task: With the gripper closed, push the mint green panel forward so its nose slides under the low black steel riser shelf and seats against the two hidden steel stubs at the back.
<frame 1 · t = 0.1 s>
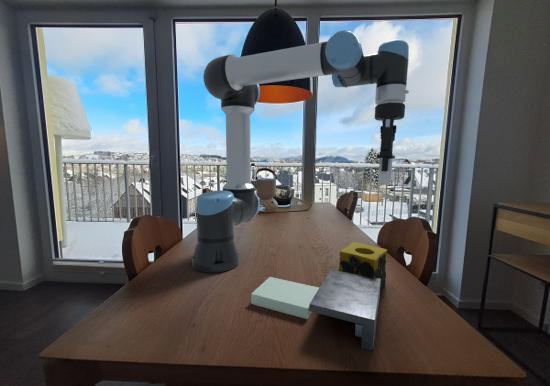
hand: (385, 182, 74), 28 cm above the table, fingers open, 13 cm apart
mint green panel: (286, 302, 64), on the table
riser: (333, 312, 59), on the table
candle: (361, 285, 72), on the table
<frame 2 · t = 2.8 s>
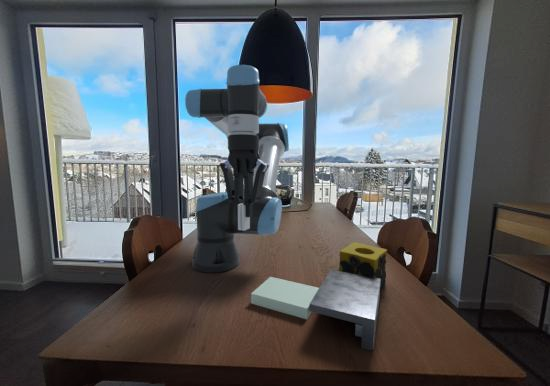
hand: (244, 228, 66), 16 cm above the table, fingers closed
nothing on the table moved.
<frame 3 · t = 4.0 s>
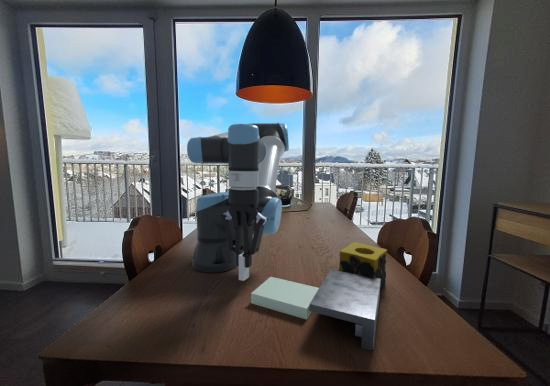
hand: (244, 278, 68), 3 cm above the table, fingers closed
nothing on the table moved.
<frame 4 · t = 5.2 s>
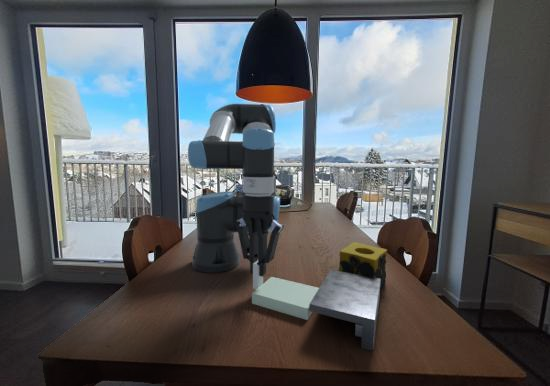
hand: (258, 287, 66), 2 cm above the table, fingers closed
mint green panel: (287, 302, 63), on the table, touching gripper
everything else where it was.
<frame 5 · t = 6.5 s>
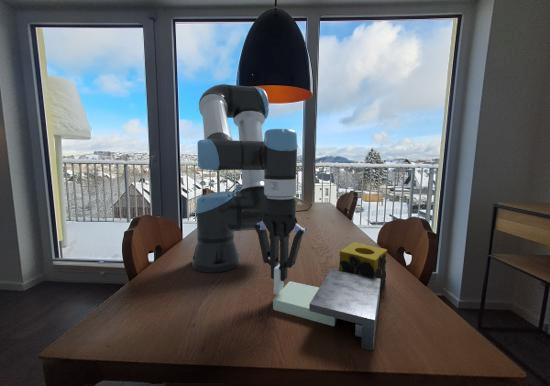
hand: (278, 291, 64), 2 cm above the table, fingers closed
mint green panel: (309, 308, 61), on the table
everything else where it was.
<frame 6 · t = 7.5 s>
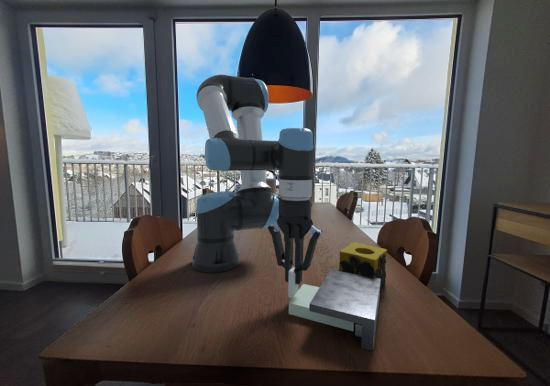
hand: (293, 295, 62), 2 cm above the table, fingers closed
mint green panel: (325, 311, 60), on the table, touching gripper
everything else where it was.
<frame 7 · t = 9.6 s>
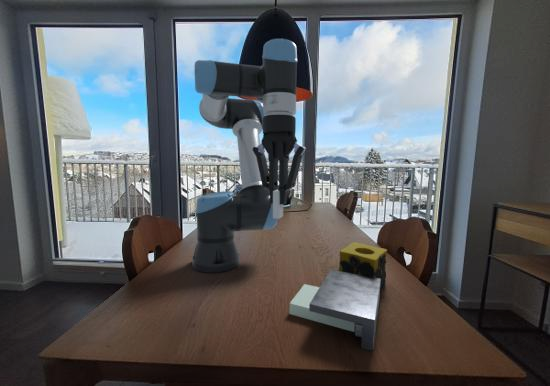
hand: (278, 217, 62), 20 cm above the table, fingers closed
mint green panel: (326, 312, 60), on the table
everything else where it was.
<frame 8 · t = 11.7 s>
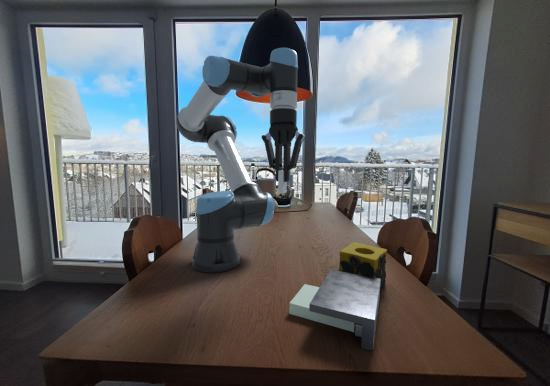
hand: (282, 192, 76), 24 cm above the table, fingers closed
nothing on the table moved.
at the end: mint green panel 0.3 cm from the target spot on the riser, point -0.5 cm above the riser's base; mint green panel tilted 0° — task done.
